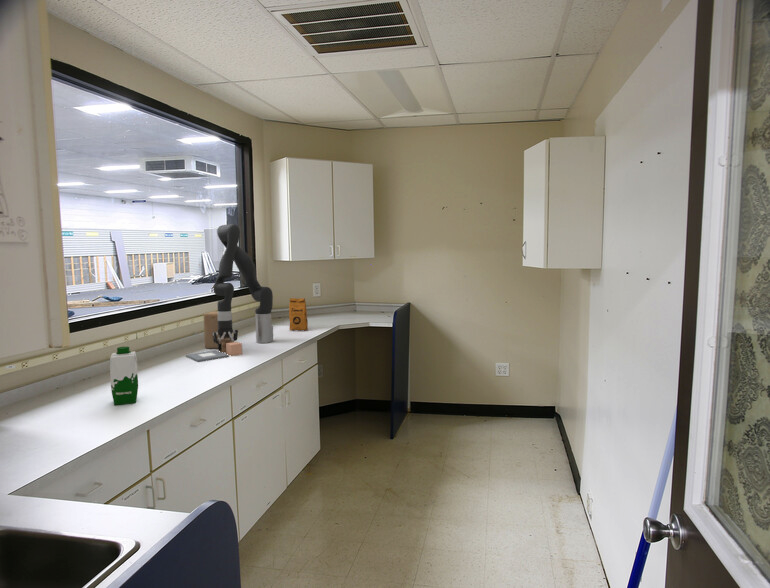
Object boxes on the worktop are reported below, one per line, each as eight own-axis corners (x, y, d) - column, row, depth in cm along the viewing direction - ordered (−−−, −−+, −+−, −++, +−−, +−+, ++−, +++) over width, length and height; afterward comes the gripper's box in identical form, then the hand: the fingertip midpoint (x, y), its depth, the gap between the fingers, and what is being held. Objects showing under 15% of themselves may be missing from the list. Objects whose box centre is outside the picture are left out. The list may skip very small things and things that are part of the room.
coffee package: (305, 331, 326) (304, 299, 323) (287, 331, 327) (286, 298, 325) (309, 329, 335) (309, 297, 333) (292, 328, 337) (291, 297, 335)
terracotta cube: (237, 352, 263) (236, 341, 263) (242, 354, 259) (241, 343, 258) (226, 354, 259) (226, 343, 259) (231, 356, 255) (231, 345, 254)
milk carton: (139, 396, 187) (136, 345, 185) (138, 403, 178) (135, 350, 176) (113, 399, 183) (110, 347, 181) (110, 406, 175) (107, 352, 173)
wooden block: (220, 349, 271) (219, 313, 269) (204, 348, 273) (202, 313, 271) (229, 345, 281) (228, 311, 279) (213, 345, 283) (212, 311, 281)
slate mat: (215, 352, 264) (215, 350, 264) (228, 356, 253) (228, 354, 253) (185, 356, 254) (185, 354, 254) (198, 361, 242) (197, 359, 242)
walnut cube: (228, 349, 271) (228, 339, 270) (233, 351, 266) (233, 340, 266) (218, 351, 267) (218, 340, 266) (223, 353, 262) (222, 342, 262)
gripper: (234, 317, 272) (235, 346, 274) (209, 319, 263) (210, 350, 264) (240, 318, 267) (241, 348, 268) (214, 321, 257) (216, 352, 259)
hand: (225, 349), depth 266 cm, fingers closed on walnut cube, 6 cm apart
